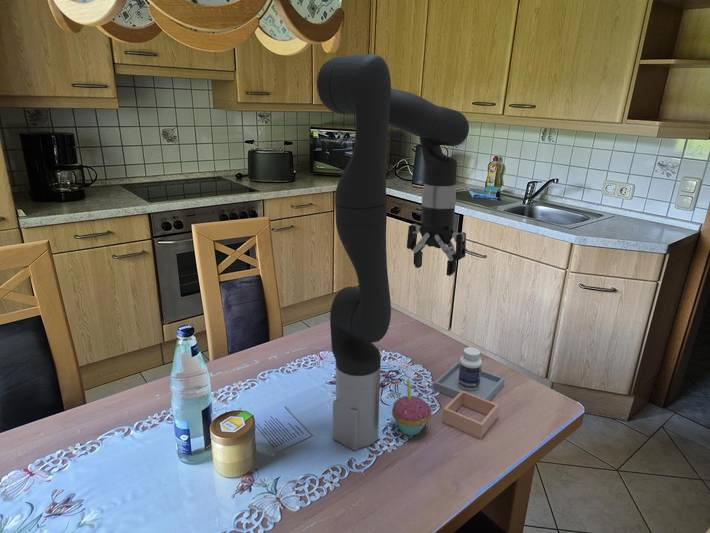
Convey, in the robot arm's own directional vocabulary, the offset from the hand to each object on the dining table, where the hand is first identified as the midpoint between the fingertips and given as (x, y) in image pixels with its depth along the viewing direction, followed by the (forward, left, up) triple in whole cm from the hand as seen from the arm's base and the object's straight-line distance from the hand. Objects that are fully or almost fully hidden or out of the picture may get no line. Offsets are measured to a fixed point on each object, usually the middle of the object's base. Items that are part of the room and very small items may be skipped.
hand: (433, 270), depth 115 cm
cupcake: (-19, -7, -30) cm, 36 cm away
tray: (+4, -10, -30) cm, 32 cm away
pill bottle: (+4, -10, -30) cm, 32 cm away
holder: (-8, -16, -30) cm, 35 cm away
